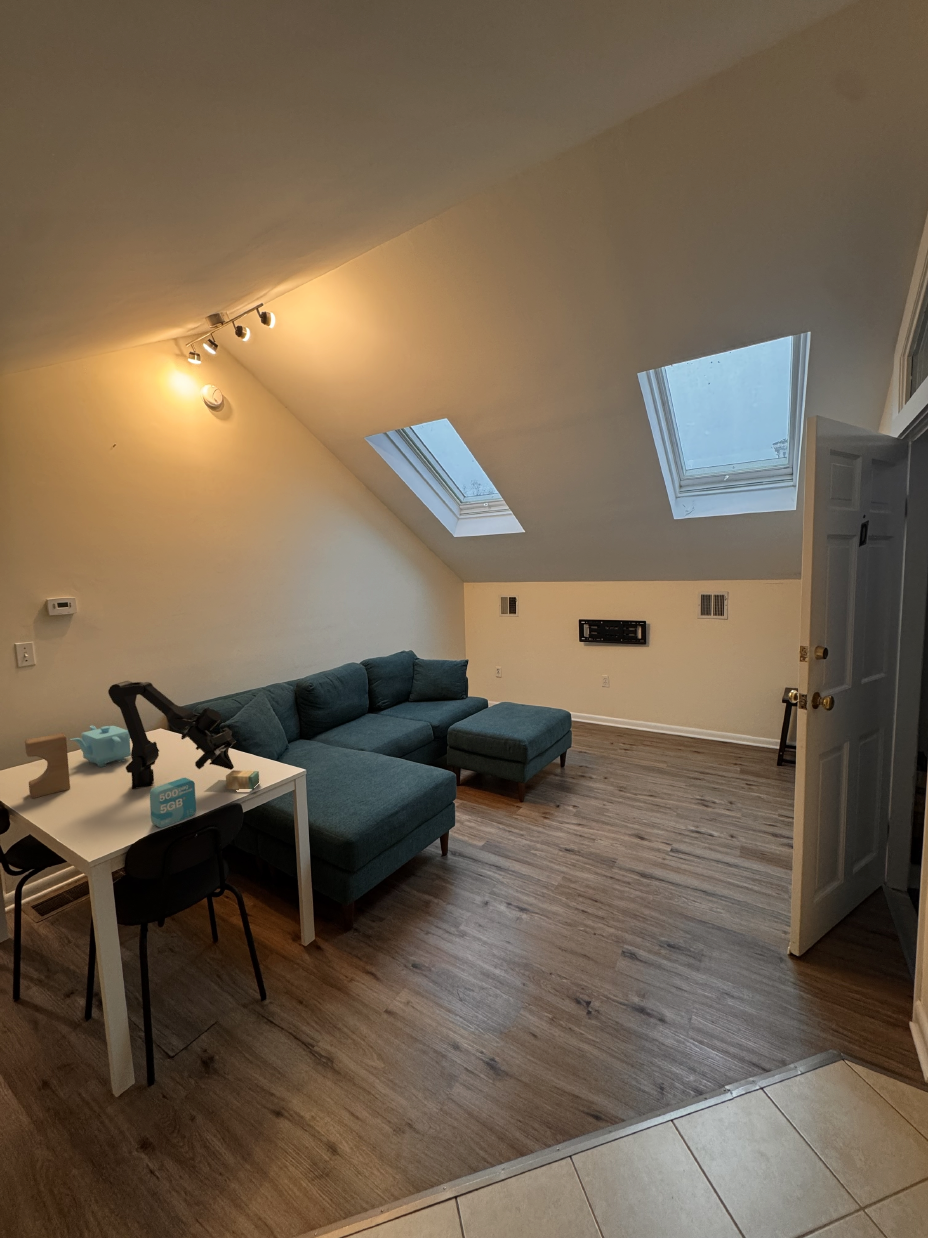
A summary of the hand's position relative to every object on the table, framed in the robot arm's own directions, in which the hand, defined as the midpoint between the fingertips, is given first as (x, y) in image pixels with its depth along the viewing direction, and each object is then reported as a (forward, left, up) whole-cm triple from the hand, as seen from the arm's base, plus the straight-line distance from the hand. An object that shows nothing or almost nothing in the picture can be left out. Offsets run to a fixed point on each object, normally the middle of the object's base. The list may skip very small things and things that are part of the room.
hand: (232, 768), depth 188 cm
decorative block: (-56, +32, -7) cm, 65 cm away
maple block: (-1, +1, -4) cm, 4 cm away
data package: (-20, -16, -7) cm, 27 cm away
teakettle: (-40, +57, -7) cm, 70 cm away
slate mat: (0, 0, -7) cm, 7 cm away
